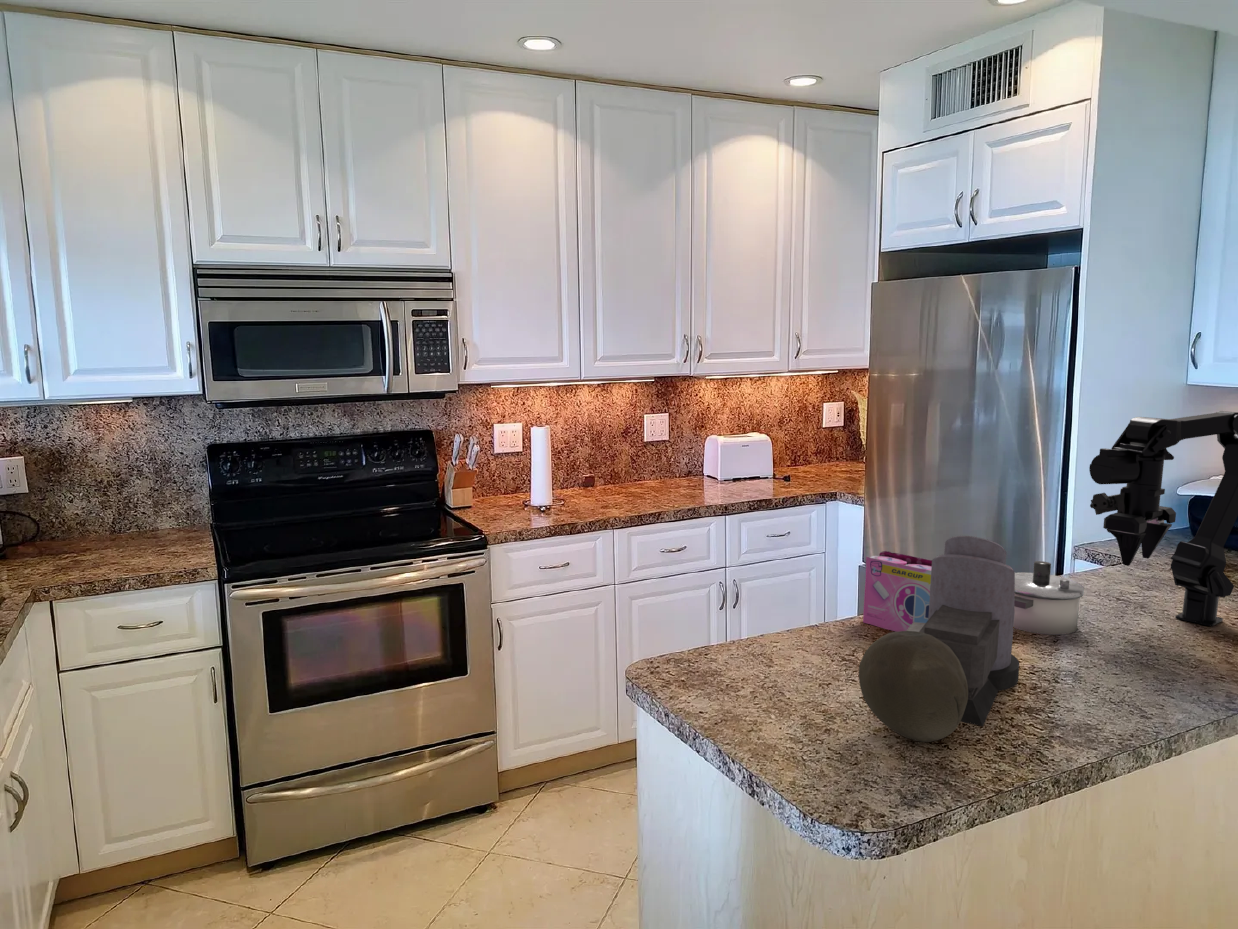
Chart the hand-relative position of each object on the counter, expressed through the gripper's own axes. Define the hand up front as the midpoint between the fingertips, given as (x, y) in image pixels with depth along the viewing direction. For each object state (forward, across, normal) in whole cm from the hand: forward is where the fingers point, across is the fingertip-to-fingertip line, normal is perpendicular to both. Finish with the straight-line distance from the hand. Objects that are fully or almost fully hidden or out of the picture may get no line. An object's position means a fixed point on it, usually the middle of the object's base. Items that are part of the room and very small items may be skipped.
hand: (1136, 561), depth 165 cm
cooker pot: (+13, +13, -12) cm, 22 cm away
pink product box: (+13, +36, -22) cm, 45 cm away
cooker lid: (+6, +13, -12) cm, 19 cm away
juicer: (+13, +54, -5) cm, 55 cm away
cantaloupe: (+13, +77, +1) cm, 78 cm away
